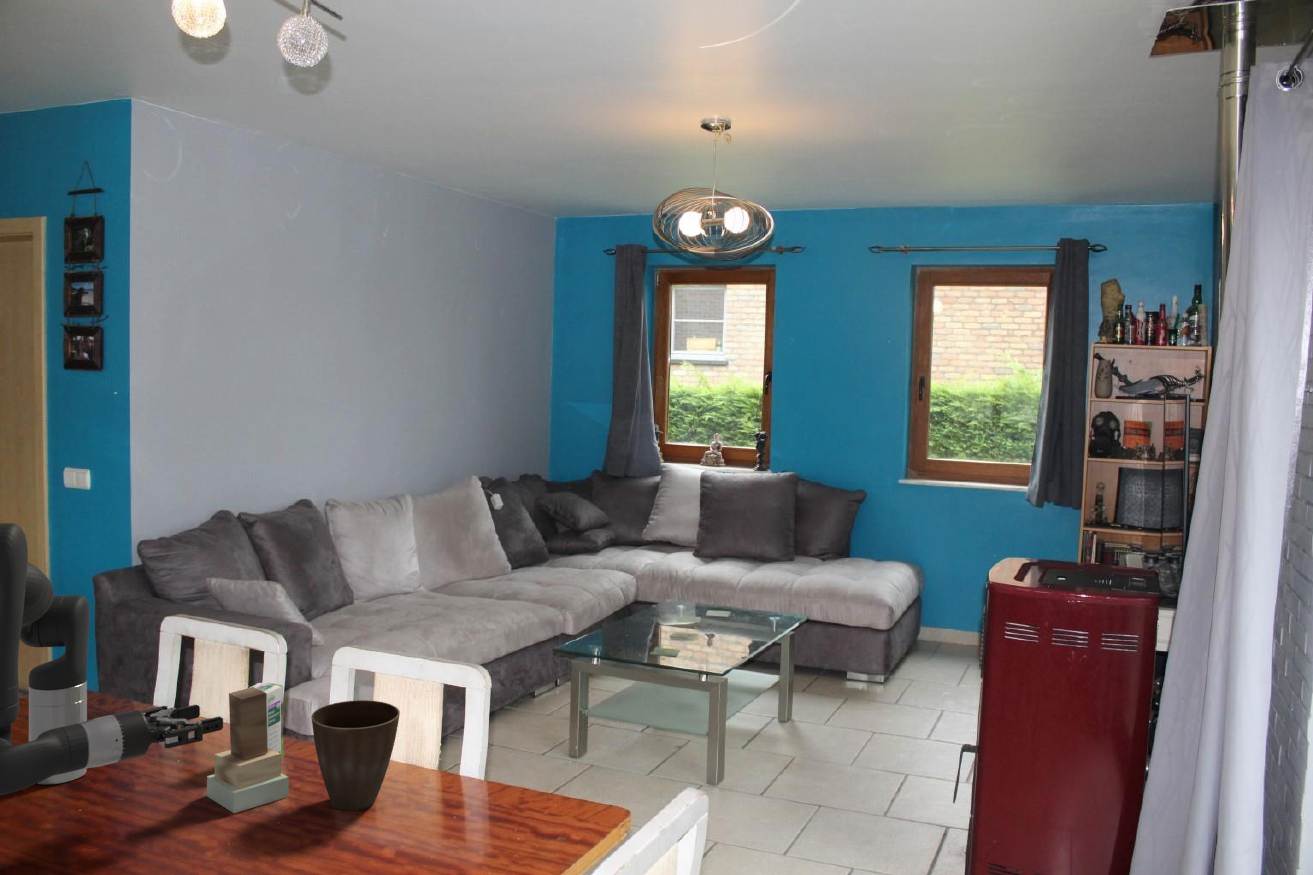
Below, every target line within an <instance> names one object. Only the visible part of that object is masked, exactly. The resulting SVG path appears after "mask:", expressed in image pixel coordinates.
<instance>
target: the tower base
mask: <svg viewBox="0 0 1313 875" xmlns="http://www.w3.org/2000/svg"><path fill="white" fill-rule="evenodd" d="M214 775H215V773H214V774H213V773H212V774H210V775H207V776H206V797H207V798H208V799H210V800H212V801H214V802H216V803H217V804H218V805H221V807H224V808H225V809H227V810H228V811H229V812H231V813H233V814H237V813H239V812H242V811H245V810H249V809H252V808H255V807H260V806H262V805H267V804H270V803H272V802H276V801H279V800H282V799H286V798H289V780H290V779H289V776H287V775H286V774H285V773H282V772H281V776H278V777H275V778H272V779H268V780H265V781H262V782H259V783H256V784H253V785H249V786H246V787H243V788H240V789H239V788H237V787H235V786H233V785H231V784H229V783H227V782H225V781H223V780H221V779H219V778H217V777H215V776H214Z"/></svg>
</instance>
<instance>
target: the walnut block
mask: <svg viewBox="0 0 1313 875" xmlns="http://www.w3.org/2000/svg"><path fill="white" fill-rule="evenodd" d="M250 687H251V688H250ZM250 687H247V688H245V689H241V690H237V691H233V692H229V693H228V703H229V705H228V706H229V710H228V711H229V712H228V713H229V735H230V737H229V738H230V750H231V754H232V755H234V756H236V757H238V758H240V759H241V760H243V761H244V760H247V759H250V758H253V757H256V756H260V755H263V754H266V753H268V746H267V712H266V693H265V692H263V691H261V690H259V689H256V688H254V687H252V686H250Z"/></svg>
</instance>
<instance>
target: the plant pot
mask: <svg viewBox="0 0 1313 875" xmlns="http://www.w3.org/2000/svg"><path fill="white" fill-rule="evenodd" d="M400 715H401V712H400V710H399V708H398V707H397V706H395V705H393V704H390V703H388V702H383V701H378V700H368V699H367V700H363V699H361V700H359V699H357V700H348V701H347V700H346V701H338V702H334V703H330V704H327V705H324V706H322V707H318V709H315V711H313V712H312V714H311V725H312V733H313V740H314V745H315V751H316V752H315V753H316V756H317V757H316V758H317V760H318V765H319V770H320V773H321V777H322V780H323V783H324V786H325V790H326V793H327V795H328V798H329V800H330V803H331V805H332V806H333V807H334V808H335V809H338V810H342V811H359V810H363V809H366V808H369V807H371V806H372V805H373V804H374V803H375V802H376V800H377V797H378V795H379V793H380V790H381V788H382V785H383V782H384V780H385V778H386V774H387V771H388V768H389V765H390V762H391V757H392V754H393V750H394V747H395V743H396V742H395V741H396V737H397V731H398V727H399V719H400Z"/></svg>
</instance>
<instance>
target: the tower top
mask: <svg viewBox="0 0 1313 875" xmlns="http://www.w3.org/2000/svg"><path fill="white" fill-rule="evenodd" d="M281 773H282V758H281V753H279V752H276V751H274V750H272V749H270V748H268V753H266V754H263V755H260V756H256V757H253V758H250V759H247V760H244V761H243V760H241V759H240V758H238V757H236V756H234V755H232V754H231V749H229V750H224V751H222V752H217V753H214V774H215V775H214V776H215V777H217V778H219V779H221V780H223V781H225V782H227V783H229V784H231V785H233V786H235V787H237V788H239V789H240V788H243V787H246V786H249V785H253V784H256V783H259V782H262V781H265V780H268V779H272V778H275V777H278V776H281Z"/></svg>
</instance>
